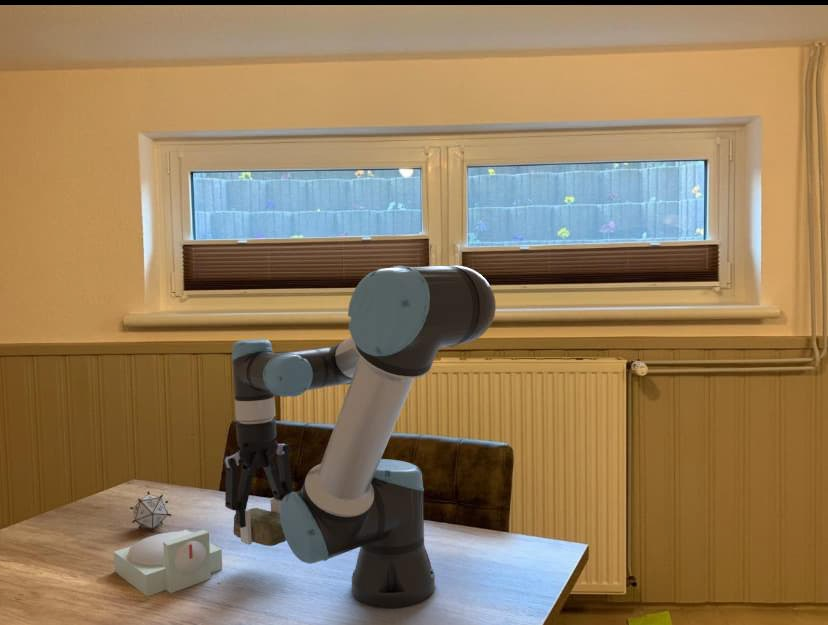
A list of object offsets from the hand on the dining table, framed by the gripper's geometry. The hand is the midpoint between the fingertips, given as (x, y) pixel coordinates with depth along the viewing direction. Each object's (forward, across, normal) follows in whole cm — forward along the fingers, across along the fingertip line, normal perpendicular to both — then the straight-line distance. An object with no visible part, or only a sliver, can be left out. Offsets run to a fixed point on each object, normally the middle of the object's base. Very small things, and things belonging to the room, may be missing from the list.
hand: (262, 536), depth 132 cm
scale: (+6, +13, -13) cm, 19 cm away
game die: (+6, +6, -38) cm, 39 cm away
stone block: (+1, 0, 0) cm, 1 cm away
